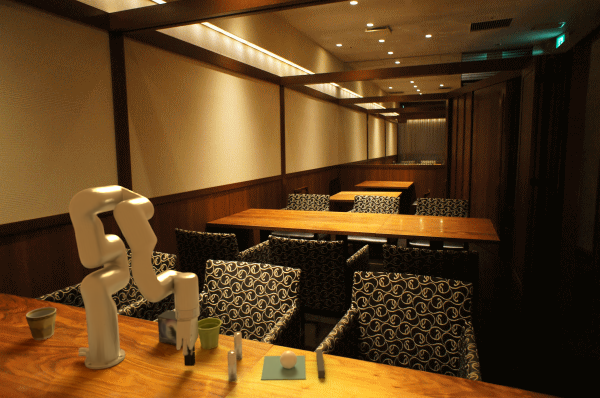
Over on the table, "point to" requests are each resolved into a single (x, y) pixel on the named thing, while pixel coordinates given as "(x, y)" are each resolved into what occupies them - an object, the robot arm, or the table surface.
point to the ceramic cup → (41, 322)
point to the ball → (288, 359)
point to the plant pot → (209, 332)
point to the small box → (167, 327)
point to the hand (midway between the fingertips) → (190, 364)
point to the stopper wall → (320, 364)
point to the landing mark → (282, 369)
